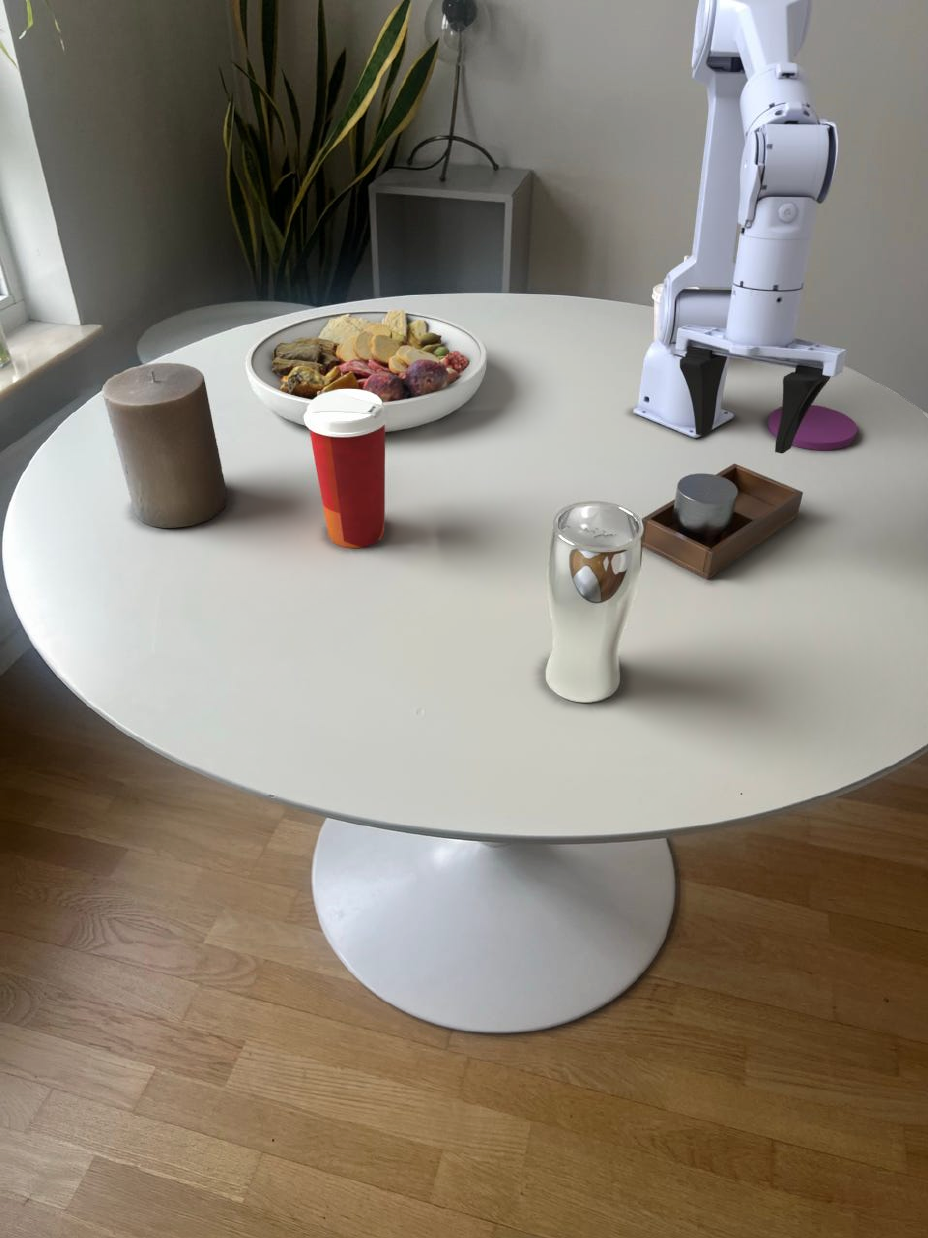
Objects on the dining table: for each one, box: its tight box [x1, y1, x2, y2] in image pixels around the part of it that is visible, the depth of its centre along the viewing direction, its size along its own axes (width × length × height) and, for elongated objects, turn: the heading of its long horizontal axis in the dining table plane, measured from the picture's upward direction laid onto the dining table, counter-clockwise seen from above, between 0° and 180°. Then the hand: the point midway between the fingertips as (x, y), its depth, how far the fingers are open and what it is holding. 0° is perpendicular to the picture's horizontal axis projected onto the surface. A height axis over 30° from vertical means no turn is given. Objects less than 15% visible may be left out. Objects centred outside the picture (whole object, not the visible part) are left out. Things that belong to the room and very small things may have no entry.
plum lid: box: [767, 404, 858, 451], centre depth 111 cm, size 10×10×1 cm
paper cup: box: [304, 389, 388, 549], centre depth 89 cm, size 8×8×14 cm
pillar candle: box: [101, 362, 228, 529], centre depth 93 cm, size 10×10×15 cm
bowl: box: [245, 309, 488, 433], centre depth 117 cm, size 30×30×8 cm
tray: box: [641, 463, 804, 580], centre depth 93 cm, size 8×16×3 cm, turn 133°
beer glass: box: [545, 500, 644, 704], centre depth 72 cm, size 7×7×15 cm
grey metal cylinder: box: [672, 473, 738, 549], centre depth 90 cm, size 6×6×6 cm
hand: (742, 440), depth 85 cm, fingers open, 7 cm apart
